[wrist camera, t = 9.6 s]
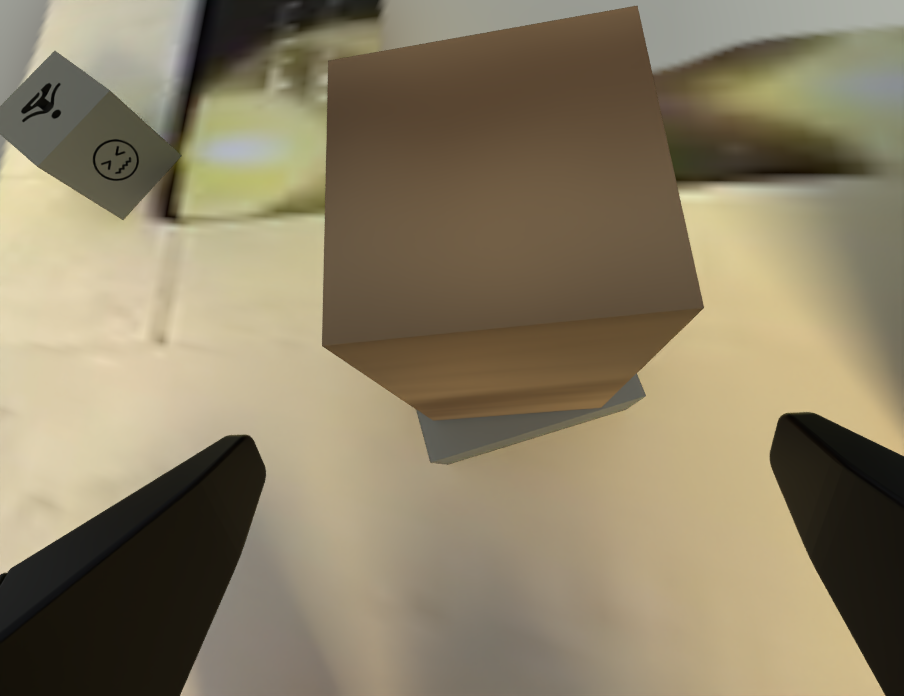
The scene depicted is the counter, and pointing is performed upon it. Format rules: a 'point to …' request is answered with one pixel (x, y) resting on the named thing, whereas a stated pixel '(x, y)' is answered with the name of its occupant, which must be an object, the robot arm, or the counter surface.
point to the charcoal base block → (511, 427)
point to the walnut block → (503, 218)
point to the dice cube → (85, 136)
